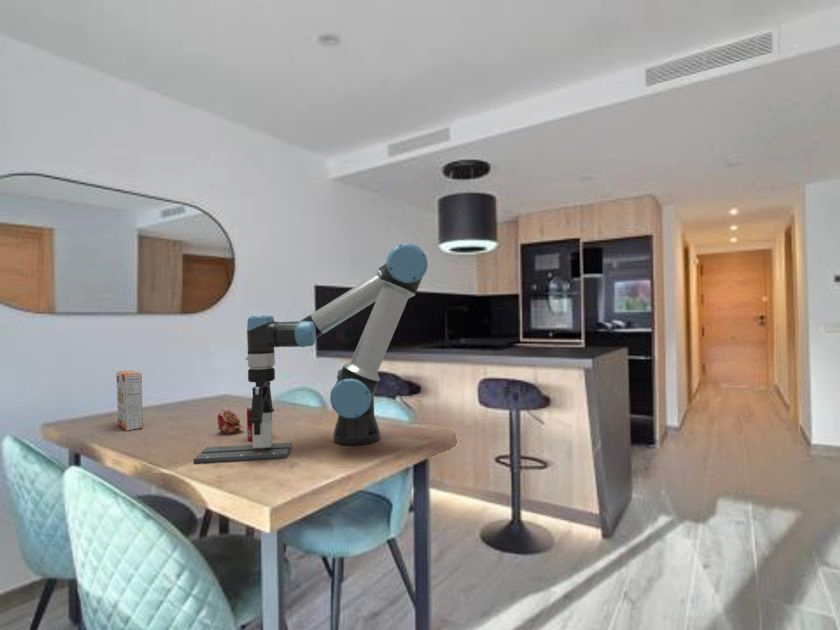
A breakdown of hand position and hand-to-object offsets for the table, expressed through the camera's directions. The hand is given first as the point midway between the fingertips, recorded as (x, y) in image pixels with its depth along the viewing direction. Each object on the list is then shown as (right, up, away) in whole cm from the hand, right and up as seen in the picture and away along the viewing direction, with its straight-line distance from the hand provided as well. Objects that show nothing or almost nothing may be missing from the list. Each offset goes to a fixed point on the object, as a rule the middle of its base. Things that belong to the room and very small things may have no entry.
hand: (262, 439), depth 139 cm
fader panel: (-5, -4, -1) cm, 7 cm away
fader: (0, -4, 0) cm, 4 cm away
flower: (-20, -5, +27) cm, 35 cm away
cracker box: (-63, -6, +40) cm, 75 cm away
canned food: (-7, -5, +18) cm, 20 cm away
